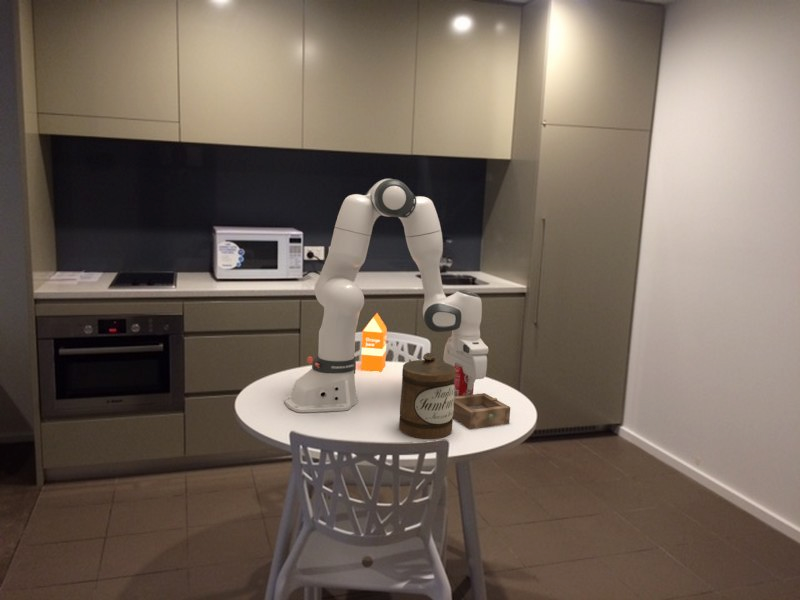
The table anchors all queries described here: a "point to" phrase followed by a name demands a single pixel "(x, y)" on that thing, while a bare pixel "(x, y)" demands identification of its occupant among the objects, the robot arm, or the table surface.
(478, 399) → the wooden drawer box
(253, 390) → the table surface
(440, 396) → the wooden container
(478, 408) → the marbled square insert
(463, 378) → the soda can
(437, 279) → the robot arm
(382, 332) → the orange juice
